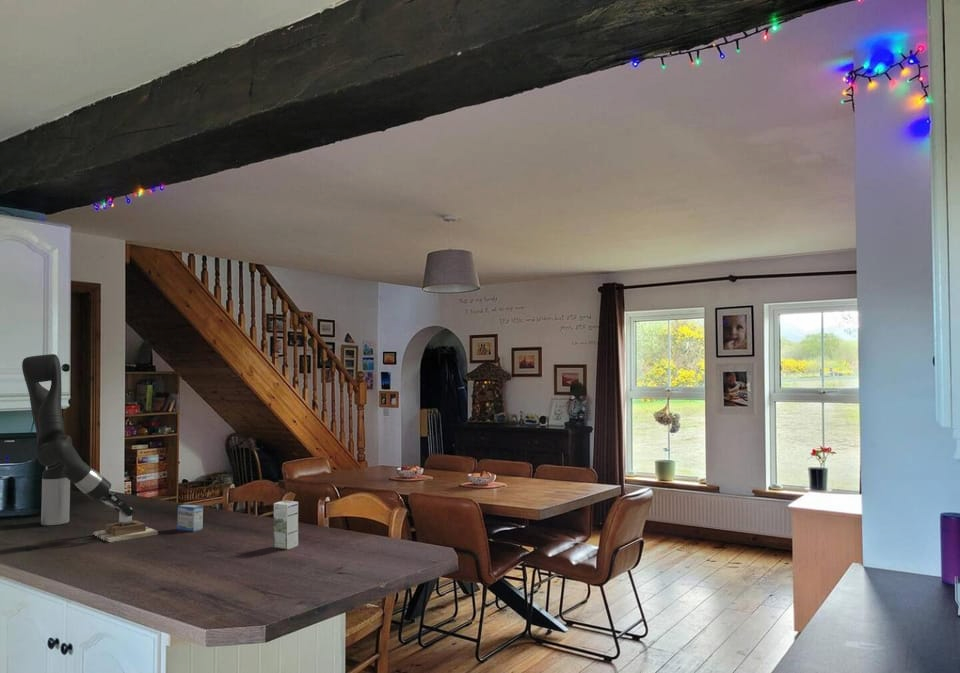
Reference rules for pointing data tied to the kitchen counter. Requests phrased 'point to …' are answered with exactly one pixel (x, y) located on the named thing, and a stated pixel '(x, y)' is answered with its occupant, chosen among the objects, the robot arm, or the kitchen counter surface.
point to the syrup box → (285, 524)
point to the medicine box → (190, 518)
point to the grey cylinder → (124, 519)
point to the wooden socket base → (124, 531)
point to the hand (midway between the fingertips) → (127, 512)
